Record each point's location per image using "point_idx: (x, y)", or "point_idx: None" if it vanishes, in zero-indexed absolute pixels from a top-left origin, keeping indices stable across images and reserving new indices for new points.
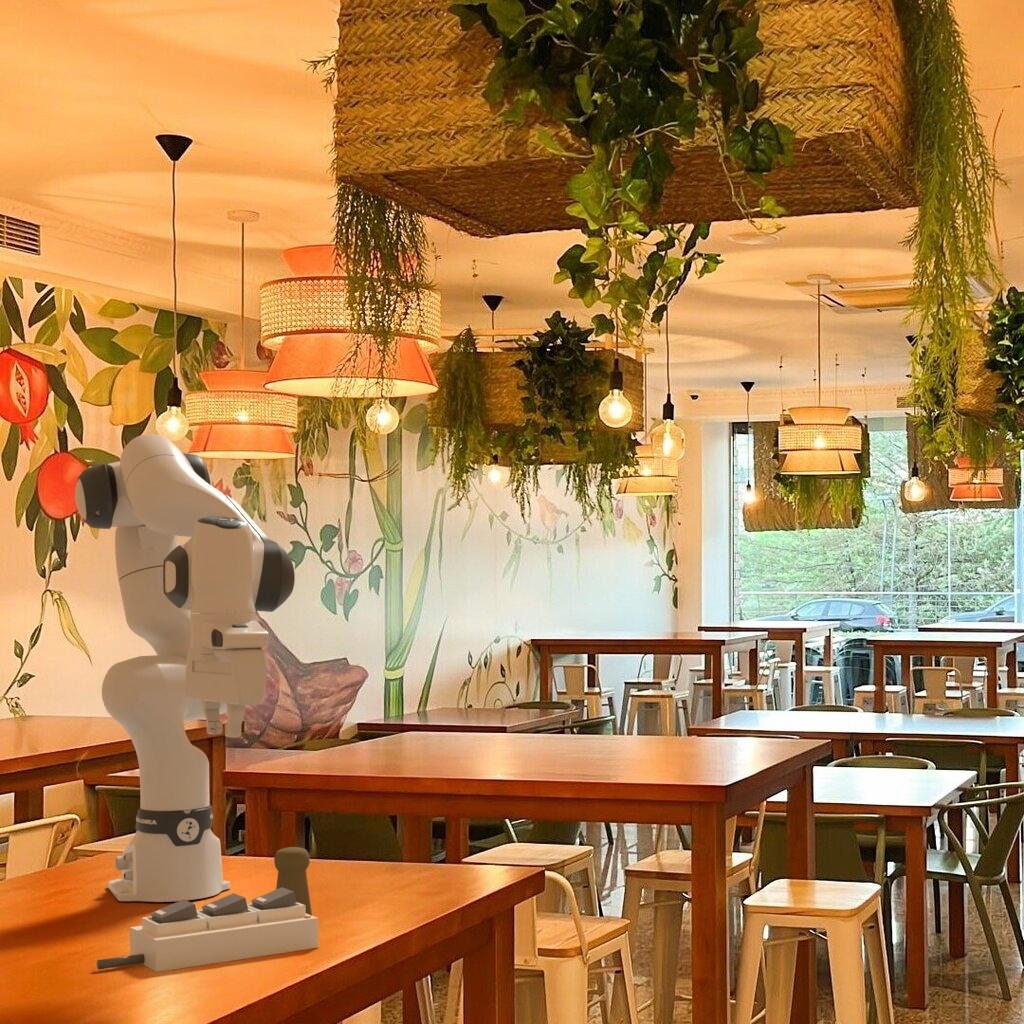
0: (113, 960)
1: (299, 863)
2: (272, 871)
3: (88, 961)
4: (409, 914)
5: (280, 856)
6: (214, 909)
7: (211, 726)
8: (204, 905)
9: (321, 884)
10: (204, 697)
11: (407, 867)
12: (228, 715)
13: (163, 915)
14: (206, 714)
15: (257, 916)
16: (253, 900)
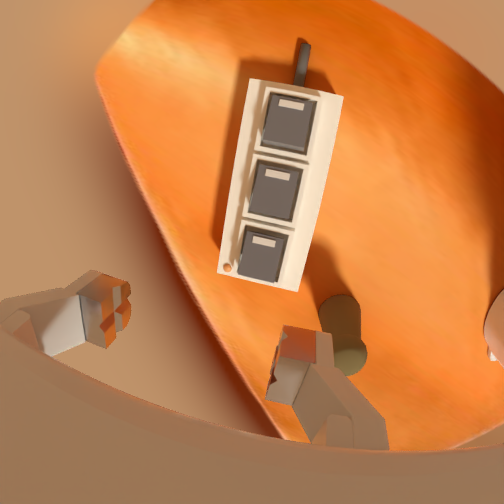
0: (299, 57)
1: None
2: (489, 404)
3: (357, 64)
4: None
5: (344, 343)
6: (262, 168)
7: (280, 345)
8: (297, 175)
9: (430, 408)
10: (264, 452)
11: None
12: (33, 303)
13: (278, 101)
14: (332, 392)
15: (249, 219)
16: (278, 239)
